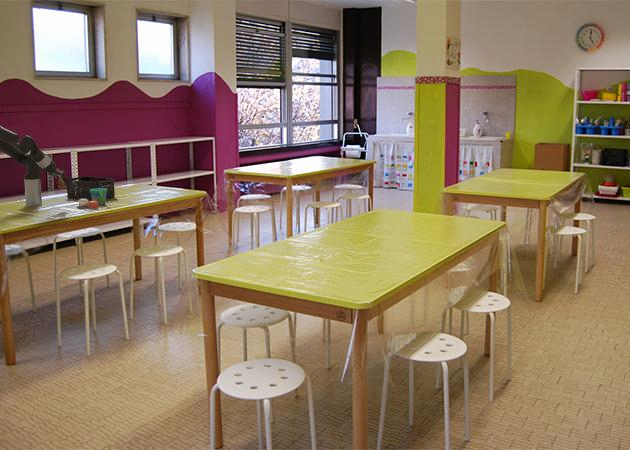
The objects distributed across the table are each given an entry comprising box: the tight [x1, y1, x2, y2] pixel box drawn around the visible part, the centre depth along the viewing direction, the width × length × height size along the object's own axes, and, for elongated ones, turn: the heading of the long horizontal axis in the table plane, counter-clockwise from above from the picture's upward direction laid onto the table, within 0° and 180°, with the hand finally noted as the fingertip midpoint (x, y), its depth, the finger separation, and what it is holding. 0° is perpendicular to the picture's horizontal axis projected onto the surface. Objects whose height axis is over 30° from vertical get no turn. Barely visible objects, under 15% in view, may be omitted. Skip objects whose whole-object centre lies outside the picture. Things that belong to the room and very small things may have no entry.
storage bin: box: [66, 175, 116, 202], centre depth 457 cm, size 29×19×13 cm
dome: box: [77, 199, 89, 206], centre depth 416 cm, size 6×6×4 cm
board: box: [58, 201, 99, 214], centre depth 413 cm, size 19×16×5 cm
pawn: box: [57, 170, 67, 189], centre depth 410 cm, size 5×5×10 cm
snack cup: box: [90, 188, 107, 206], centre depth 430 cm, size 16×10×10 cm
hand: (64, 180), depth 411 cm, fingers closed on pawn, 3 cm apart
